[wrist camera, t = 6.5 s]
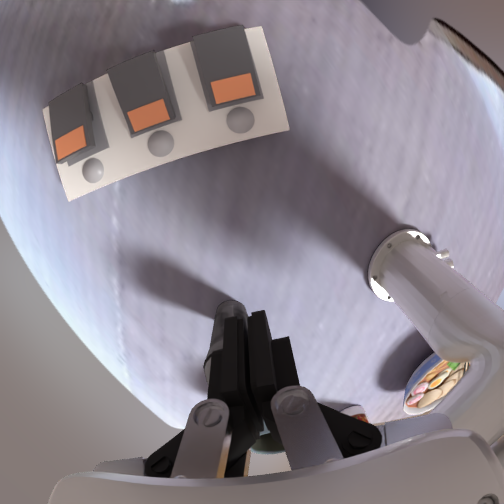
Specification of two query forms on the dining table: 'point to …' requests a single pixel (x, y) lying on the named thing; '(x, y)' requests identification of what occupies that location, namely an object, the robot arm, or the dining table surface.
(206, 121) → the rocker switch panel
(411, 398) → the ramen bowl
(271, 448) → the teal plant pot
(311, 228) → the dining table surface
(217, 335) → the beverage cup
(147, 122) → the middle rocker
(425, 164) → the dining table surface
